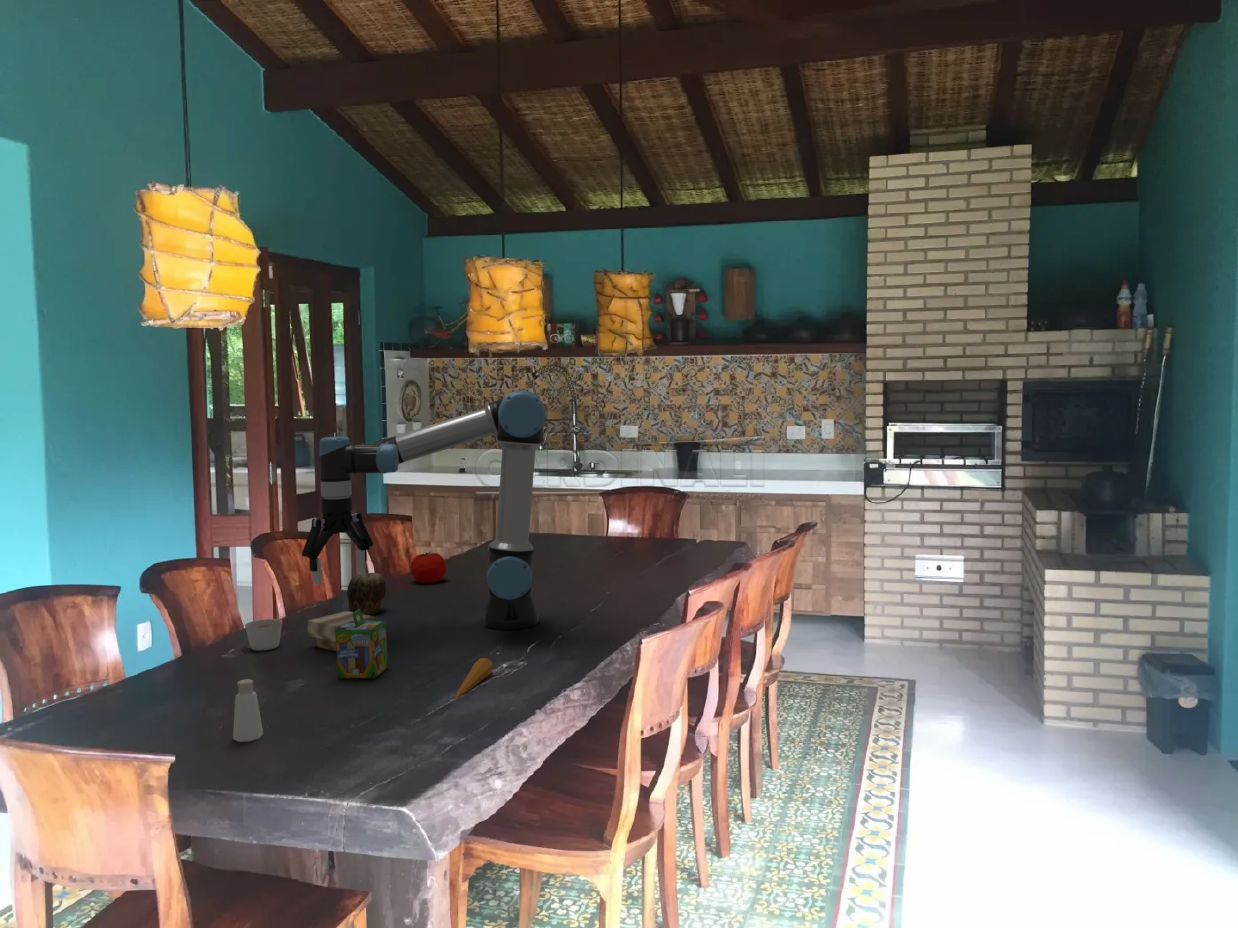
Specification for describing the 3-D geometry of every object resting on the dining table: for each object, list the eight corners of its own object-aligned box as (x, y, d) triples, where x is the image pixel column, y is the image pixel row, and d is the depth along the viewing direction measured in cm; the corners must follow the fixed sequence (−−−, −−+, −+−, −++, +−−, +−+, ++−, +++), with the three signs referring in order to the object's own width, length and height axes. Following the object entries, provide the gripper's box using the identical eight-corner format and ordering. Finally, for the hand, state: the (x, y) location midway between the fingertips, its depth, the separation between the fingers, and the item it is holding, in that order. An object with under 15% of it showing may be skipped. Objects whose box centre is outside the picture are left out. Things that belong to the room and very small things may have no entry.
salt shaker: (226, 740, 183) (223, 683, 183) (247, 730, 188) (244, 675, 188) (249, 743, 182) (246, 686, 181) (269, 733, 187) (266, 677, 186)
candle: (282, 650, 246) (281, 625, 245) (244, 653, 243) (243, 628, 243) (284, 641, 254) (283, 617, 254) (247, 644, 252) (246, 620, 251)
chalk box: (374, 679, 219) (372, 615, 218) (336, 679, 221) (333, 615, 219) (389, 667, 229) (386, 606, 227) (352, 667, 230) (349, 605, 229)
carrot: (481, 676, 224) (473, 658, 224) (498, 669, 223) (490, 652, 222) (448, 713, 205) (439, 694, 204) (466, 707, 204) (457, 688, 203)
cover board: (376, 631, 250) (375, 616, 250) (338, 642, 241) (337, 626, 240) (346, 625, 257) (345, 610, 257) (308, 635, 248) (307, 620, 247)
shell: (376, 617, 278) (375, 576, 277) (341, 616, 280) (339, 576, 279) (392, 609, 289) (391, 569, 288) (358, 607, 291) (357, 568, 290)
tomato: (444, 577, 334) (443, 548, 333) (449, 584, 323) (448, 553, 322) (408, 580, 330) (407, 550, 329) (412, 587, 319) (411, 556, 318)
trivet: (368, 643, 250) (367, 632, 250) (339, 651, 243) (339, 640, 243) (345, 638, 255) (345, 627, 255) (317, 646, 248) (316, 635, 248)
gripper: (366, 491, 259) (369, 569, 261) (285, 501, 239) (288, 585, 241) (384, 493, 255) (387, 572, 257) (303, 503, 235) (306, 589, 237)
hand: (339, 579), depth 249 cm, fingers open, 13 cm apart
